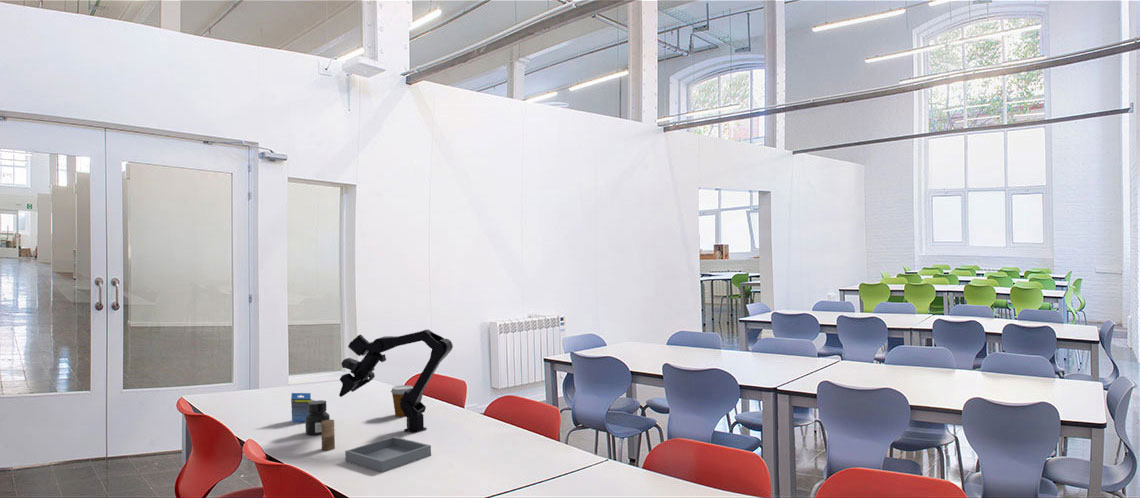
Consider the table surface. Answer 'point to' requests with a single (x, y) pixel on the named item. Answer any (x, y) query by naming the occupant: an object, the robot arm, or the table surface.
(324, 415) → the ink bottle
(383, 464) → the tray
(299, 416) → the label tape box
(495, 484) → the table surface
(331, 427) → the post
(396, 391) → the disposable coffee cup
